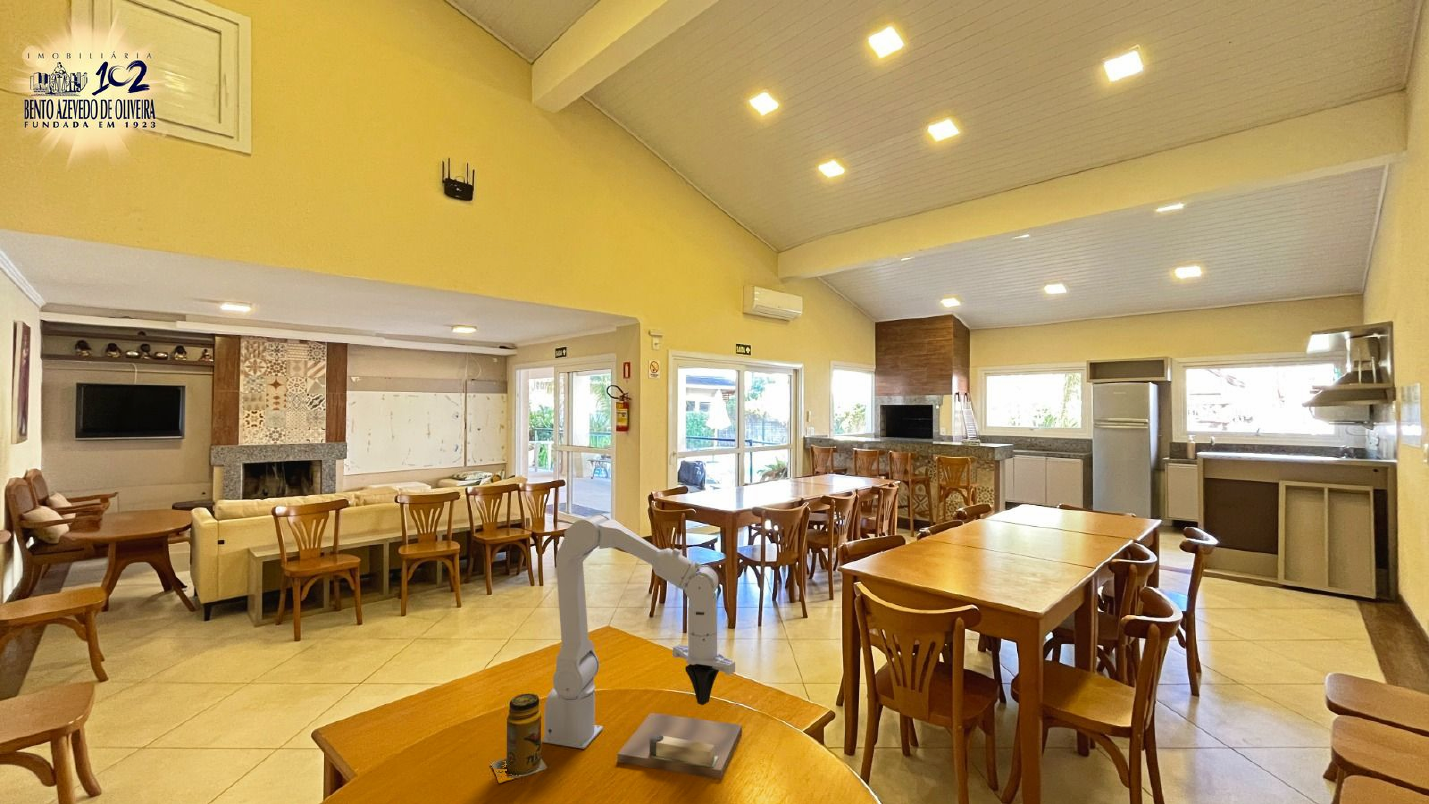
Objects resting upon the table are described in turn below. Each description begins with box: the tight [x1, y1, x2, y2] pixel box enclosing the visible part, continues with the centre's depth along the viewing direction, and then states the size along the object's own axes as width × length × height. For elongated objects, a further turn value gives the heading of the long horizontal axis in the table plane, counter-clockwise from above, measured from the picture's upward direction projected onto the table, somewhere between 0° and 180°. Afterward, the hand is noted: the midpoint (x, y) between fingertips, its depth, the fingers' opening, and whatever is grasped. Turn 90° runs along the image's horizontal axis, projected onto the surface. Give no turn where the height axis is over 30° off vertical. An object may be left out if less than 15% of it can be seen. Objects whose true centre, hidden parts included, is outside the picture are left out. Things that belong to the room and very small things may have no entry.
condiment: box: [489, 692, 548, 779], centre depth 102 cm, size 7×8×12 cm
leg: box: [650, 735, 714, 766], centre depth 102 cm, size 12×3×2 cm, turn 70°
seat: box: [617, 712, 743, 780], centre depth 108 cm, size 20×16×2 cm
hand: (703, 702), depth 108 cm, fingers closed
